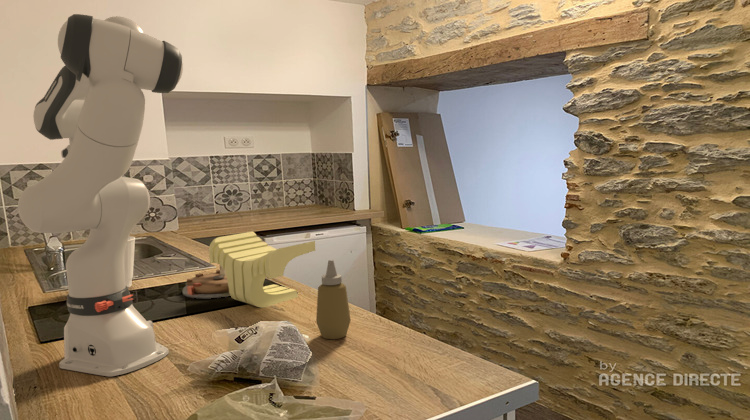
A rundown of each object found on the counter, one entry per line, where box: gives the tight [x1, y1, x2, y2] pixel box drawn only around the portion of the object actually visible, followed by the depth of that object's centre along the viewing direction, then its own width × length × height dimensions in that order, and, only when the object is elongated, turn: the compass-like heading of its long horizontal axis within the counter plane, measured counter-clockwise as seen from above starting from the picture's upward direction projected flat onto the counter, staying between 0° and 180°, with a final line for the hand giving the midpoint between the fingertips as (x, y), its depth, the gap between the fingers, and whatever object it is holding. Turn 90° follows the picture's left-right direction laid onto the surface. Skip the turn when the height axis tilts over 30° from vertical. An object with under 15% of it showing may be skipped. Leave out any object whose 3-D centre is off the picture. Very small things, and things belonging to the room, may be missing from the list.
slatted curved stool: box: [208, 231, 316, 309], centre depth 149 cm, size 30×16×18 cm, turn 48°
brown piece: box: [186, 264, 229, 294], centre depth 162 cm, size 19×19×14 cm
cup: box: [124, 235, 136, 288], centre depth 169 cm, size 12×12×16 cm
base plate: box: [182, 285, 230, 300], centre depth 163 cm, size 22×22×3 cm
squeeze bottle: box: [315, 259, 352, 340], centre depth 119 cm, size 8×8×18 cm
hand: (94, 201), depth 141 cm, fingers closed
